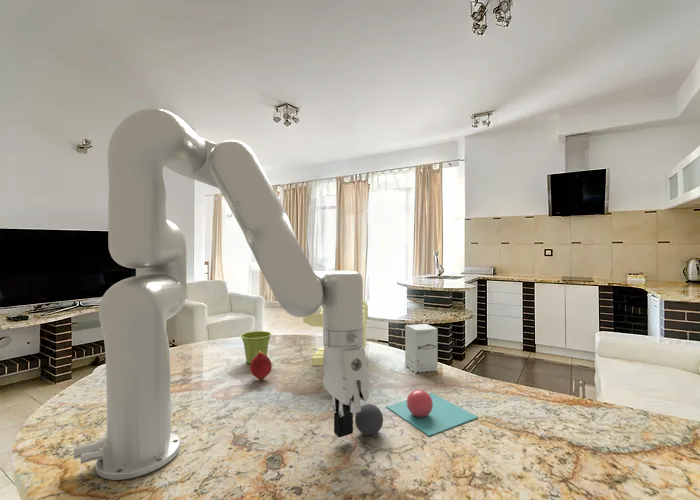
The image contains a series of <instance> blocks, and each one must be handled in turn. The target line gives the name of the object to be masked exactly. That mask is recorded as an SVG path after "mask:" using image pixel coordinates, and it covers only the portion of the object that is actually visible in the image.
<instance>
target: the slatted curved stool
mask: <svg viewBox="0 0 700 500" xmlns="http://www.w3.org/2000/svg"><path fill="white" fill-rule="evenodd" d="M368 315H369V307H368V303H367V302H366V301H365V300H364V299H363V345H362V346H363V347H364V350H365V348H366V342H367V341H366V336H367V335H366V334H367V331H366V329H367V327H366V326H367V320H369V316H368ZM302 319H303V321H302V322H303V324H305V325H308V326H311V327H321V328H323V307H322V306H321V309H320V312H319V313H317V312H315V313H313V314H311V315H309V316H306V317H302ZM323 356H324V347H319V348H318V349H317V351H316V352H315V353H314V354H313V356H312V357H311V361H310V362H311V363H310V365H311V366H322V367H323Z"/></svg>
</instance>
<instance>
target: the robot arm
mask: <svg viewBox="0 0 700 500" xmlns="http://www.w3.org/2000/svg"><path fill="white" fill-rule="evenodd" d="M164 167H165V168H167V169H169V170H171V171H173V172H174V173H176V174H178V175H181V176H184V177H186V178H189V179H192V180H194V181H198V182H201V183H203V184H206V185H208V186H211V187H214V188H217V189H219V191H220V192H221V194H222V197H223V198H224V200H225V202H226V203H227V206H228V208H229V209H230V211H231V213H232V215H233V216H234V218H235V221H236V222H237V224H238V225H239V227H240V229H241V231H242V233H243V235H244V237H245V240H246V243H247V245H248V247H249V248H250V250H251V252H252V254H253V256H254V258H255V261H256V264H257V265H258V267H259V269H260V272H261V273H262V275H263V277H264V279H265V280H266V282H267V284H268V286H269V288H270V290H271V292H272V293H273V296H274V297H275V299H276V300H277V303H278V304H279V305H280V307H281V308H282V310H284V311H285V312H286V313H287V314H289V315H291V316H293V317H296V318H303V317H306V316H309V315H311V314H313V313H317V311H318V310H319V309H320V308H322V307H323V327H322V344H323V345H322V346H323V348H324V356H323V366H322V382H323V387H324V389H325V390H326V391H327V393H328V394H329V395H330V396H331V400H332V410H333V432H334V434H335V435H336V436H337V438H342V437H346V436H349V435H351V434H353V432H354V414H356V413H358V412H361V406H362V405H361V400H362V401H364V402H365V401H368V400H369V376H368V375H369V373H368V372H369V371H368V364H367V356H366V350H365V349H364V347H363V346H362V345H363V300H364V298H363V297H364V294H363V293H364V290H363V289H364V288H363V287H364V285H363V284H364V282H363V276H362V273H360V272H359V271H355V270H342V269H341V270H329V271H318V270H317V271H316V270H313V267H312V265H311V264H310V262H309V260H308V258H307V257H306V253H304V251H303V249H302V246H301V245H300V243H299V241H298V239H297V237H296V234H295V232H294V229H293V227H292V224H291V220H290V218H289V215H288V213H287V211H286V209H285V208H284V205H283V203H282V202H281V200H280V198H279V196H278V195H277V192H276V191H275V189H274V187H273V185H272V184H271V182H270V180H269V178H268V176H267V174H266V172H265V171H264V169H263V167H262V164H261V163H260V161H259V159H258V158H257V156H256V154H255V152H254V151H253V150H252V149H251V147H250V146H249V145H247V144H246V143H244V142H242V141H240V140H234V139H228V140H223V141H221V142H219V143H218V144H217V143H216V142H213V141H211V140H210V141H209V139H205V138H202V137H200V136H199V135H198V134H197V133H196V132H195V131H194V130H193V129H192V128H191V127H190V126H189V124H187V123H186V122H185V121H184V120H183V119H182V118H180V117H179V116H178V115H176V114H174V113H172V112H170V111H169V110H165V109H162V108H157V107H152V108H143V109H140V110H137V111H135V112H132V113H131V114H129V115H128V116H126V117H125V118H124V119H122V120H121V121H120V122H119V124H118V125H117V126H116V128H115V129H114V130H113V132H112V134H111V136H110V139H109V142H108V149H107V170H108V171H107V174H108V175H107V176H108V198H107V199H108V202H107V203H108V206H107V207H108V208H107V209H108V211H107V214H108V219H107V221H108V223H107V224H108V227H107V228H108V231H107V232H108V234H107V235H108V236H107V239H108V243H107V244H108V251H109V254H110V257H111V258H112V260H113V261H114V262H116V263H117V264H118V265H119V266H122V267H123V268H124V267H125V268H127V269H128V268H129V269H135V276H130V277H127V278H124V279H121V280H120V281H117V282H116V283H114V284H112V285H111V286H110V287H109V288H108V289H107V290H106V291H105V292H104V294H103V295H102V297H101V300H100V302H99V307H98V318H99V324H100V328H101V332H102V337H103V342H104V352H105V354H104V355H105V378H106V383H105V384H106V388H105V389H106V432H105V437H103V438H99V439H98V440H97V441H95V442H91V443H85V444H80V445H75V446H74V450H73V460H77V459H80V464H85V463H89V462H91V461H95V460H96V462H95V472H96V474H97V475H98V476H99V477H101V478H102V479H103V478H104V479H106V480H111V481H113V480H114V481H121V480H128V479H133V478H137V477H140V476H145V475H147V474H149V473H151V472H152V473H153V472H154V471H156V470H158V469H160V468H162V467H164V466H165V465H167V464H168V463H169V462H171V461H172V460H173V459H174V458H175V457H176V456H177V455H178V453H179V452H180V450H181V438H180V437H179V435H177V434H176V433H174V432H172V423H171V422H172V421H171V419H172V418H171V417H172V415H171V414H172V413H171V353H170V344H169V343H170V342H169V336H168V334H167V329H166V321H168V320H171V318H173V317H174V316H175V315H177V314H178V313H179V312H180V311H181V310H182V309H183V307H184V304H185V303H186V298H187V245H186V244H187V243H186V238H185V235H184V233H183V231H182V230H181V228H179V226H178V225H177V224H175V223H174V222H173V221H170V220H169V219H167V209H166V208H167V206H166V203H167V202H166V201H167V191H166V186H165V185H166V184H165V180H164V175H163V171H164Z"/></svg>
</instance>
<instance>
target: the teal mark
mask: <svg viewBox="0 0 700 500" xmlns="http://www.w3.org/2000/svg"><path fill="white" fill-rule="evenodd" d="M428 394H429V395H430V397H431V399H432V402H433V407H432V411H431V412H430V414H429V415H427V416H426V417H422V418H420V417H416V416H414V415H413V414H411V413H410V411H409V409H408V407H407V399H406V400H404V401H400V402H397V403H396V402H395V403H392V404H390V405H386V406H385V408H386V409H388V410H389V411H391V412H392V413H393V414H395V415H397V416H398V417H400V418H401V419H403V420H404V421H406V422H408V423H409V424H410V425H411V426H413V427H414V428H416V429H418V430H419V431H420V432H422V433H424V434H425V435H426V436H428V437H432V436H434V435H436V434H440V433H442V432H445V431H448V430H450V429H452V428H455V427H458V426H461V425H464V424H466V423H468V422H472V421H473V420H476V419H479V416H477V415H475V414H473V413H471V412H470V411H468V410H465V409H464V408H462V407H460V406H458V405H456V404H454V403H452V402H450V401H448V400H446V399H444V398H442V397H441V396H438V395H437V394H435V393H433V392H430V393H428Z"/></svg>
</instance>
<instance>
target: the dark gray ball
mask: <svg viewBox="0 0 700 500" xmlns="http://www.w3.org/2000/svg"><path fill="white" fill-rule="evenodd" d="M354 422H355V426H356V428H357V429H358V431H359V432H360V433H361V434H363V435H366V436H373V435H376V434H377V433H378V432H380V430H381V429H382V427H383V423H384V415H383V412H382V411H381V410H380V408H379V407H378V406H376V405H375V404H371V403H366V404H363V405H361V412H358V413H355V415H354Z"/></svg>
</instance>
